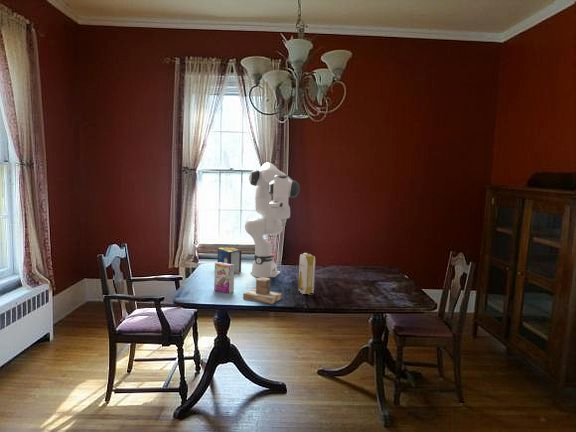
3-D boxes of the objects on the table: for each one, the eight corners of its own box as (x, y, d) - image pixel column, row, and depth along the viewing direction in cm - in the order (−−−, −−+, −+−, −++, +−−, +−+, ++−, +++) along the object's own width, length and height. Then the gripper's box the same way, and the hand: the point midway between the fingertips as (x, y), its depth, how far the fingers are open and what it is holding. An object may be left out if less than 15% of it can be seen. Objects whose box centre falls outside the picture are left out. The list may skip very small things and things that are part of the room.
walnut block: (260, 291, 242) (260, 277, 241) (269, 292, 240) (270, 278, 239) (255, 293, 238) (256, 279, 237) (265, 295, 235) (265, 280, 234)
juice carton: (296, 291, 256) (298, 251, 254) (308, 290, 259) (310, 251, 257) (302, 295, 248) (304, 254, 245) (315, 294, 251) (317, 254, 248)
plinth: (254, 293, 248) (254, 288, 248) (281, 298, 240) (281, 293, 240) (243, 298, 237) (243, 293, 237) (271, 304, 230) (271, 298, 229)
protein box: (229, 267, 310) (230, 246, 308) (241, 272, 298) (241, 250, 297) (216, 269, 303) (217, 247, 302) (228, 274, 292) (228, 251, 290)
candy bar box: (213, 290, 251) (214, 263, 249) (219, 288, 255) (219, 261, 253) (228, 293, 245) (229, 265, 243) (234, 292, 250) (234, 264, 248)
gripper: (283, 202, 256) (282, 224, 257) (267, 203, 237) (266, 228, 239) (293, 202, 253) (292, 225, 254) (277, 204, 235) (276, 229, 236)
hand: (279, 227), depth 246 cm, fingers open, 8 cm apart
